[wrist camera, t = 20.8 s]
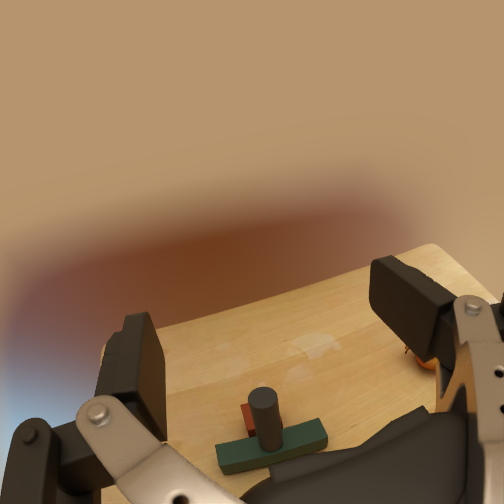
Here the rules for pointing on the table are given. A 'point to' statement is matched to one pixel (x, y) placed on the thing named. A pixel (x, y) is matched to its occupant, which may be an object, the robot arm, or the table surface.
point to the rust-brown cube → (250, 420)
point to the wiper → (269, 437)
